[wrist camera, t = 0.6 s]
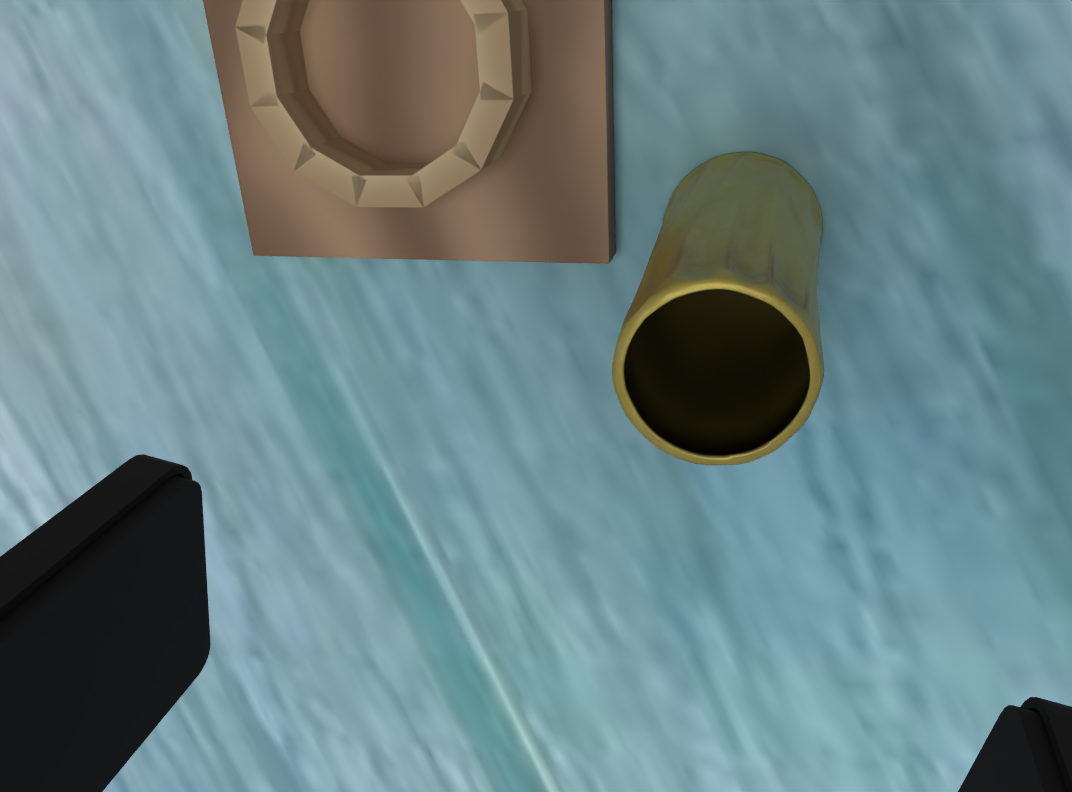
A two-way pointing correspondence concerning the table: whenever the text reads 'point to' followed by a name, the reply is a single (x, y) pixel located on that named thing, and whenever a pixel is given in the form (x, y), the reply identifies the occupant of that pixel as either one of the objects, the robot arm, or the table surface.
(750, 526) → the table surface
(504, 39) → the stand
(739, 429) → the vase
